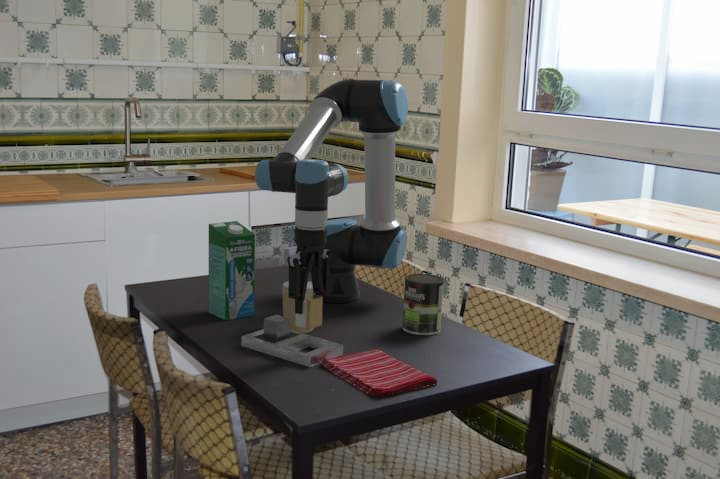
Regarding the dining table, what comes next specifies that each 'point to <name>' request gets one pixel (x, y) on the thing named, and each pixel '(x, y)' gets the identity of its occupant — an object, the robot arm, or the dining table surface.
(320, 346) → the grey tray
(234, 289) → the milk carton
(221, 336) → the dining table surface
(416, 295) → the coffee can
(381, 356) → the dish towel
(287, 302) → the coffee cup
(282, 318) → the tall grey box
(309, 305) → the tan rectangular block
